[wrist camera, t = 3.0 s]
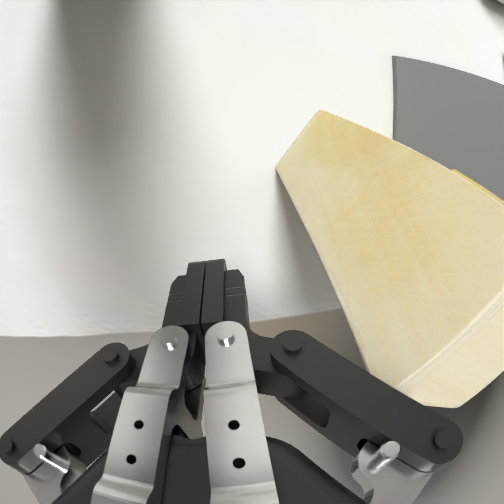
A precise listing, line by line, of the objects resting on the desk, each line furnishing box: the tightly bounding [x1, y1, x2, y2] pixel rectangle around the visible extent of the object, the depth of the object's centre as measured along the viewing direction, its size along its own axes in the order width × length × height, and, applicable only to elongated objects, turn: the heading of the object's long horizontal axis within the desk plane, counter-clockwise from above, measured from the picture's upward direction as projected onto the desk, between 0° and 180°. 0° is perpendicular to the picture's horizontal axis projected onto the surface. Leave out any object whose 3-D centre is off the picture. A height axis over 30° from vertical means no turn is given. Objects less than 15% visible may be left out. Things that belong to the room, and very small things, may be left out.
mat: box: [392, 56, 504, 201], centre depth 24 cm, size 20×20×1 cm
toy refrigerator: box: [276, 110, 504, 408], centre depth 16 cm, size 8×7×21 cm
